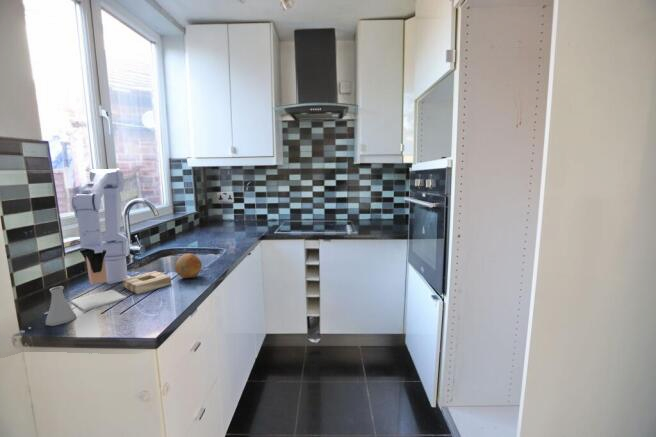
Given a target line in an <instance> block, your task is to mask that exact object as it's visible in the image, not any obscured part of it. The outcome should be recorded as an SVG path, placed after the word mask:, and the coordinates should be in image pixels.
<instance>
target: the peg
mask: <svg viewBox="0 0 656 437" xmlns="http://www.w3.org/2000/svg"><path fill="white" fill-rule="evenodd" d="M86 260H87V263H86V266H87V268H86V269H87V273H88V274H87V275H88V280H89V283H90V284H91V285H92V286H94V285H98V284H103V283H107V276H106V268H105V260H104V259H103V264H102V270H101V272H96V273H93V271H92V268H91V265H90V262H89V260H88V258H87V257H86ZM86 260H85V261H86Z"/></svg>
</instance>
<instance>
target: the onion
mask: <svg viewBox="0 0 656 437" xmlns="http://www.w3.org/2000/svg"><path fill="white" fill-rule="evenodd" d="M174 266H175V267H174V268H175V272H176V274H177V275H178V276H179V277H181V278H182V279H193V278H196V277H197V276H198V275H199V274H200V272H201V270H202V262H201V260H200V258H199V257H198V255H196V254H194V253H183V254H181V255H180V257H179V258H178V259H177V260H176V263H175V265H174Z"/></svg>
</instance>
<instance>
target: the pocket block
mask: <svg viewBox="0 0 656 437" xmlns="http://www.w3.org/2000/svg"><path fill="white" fill-rule="evenodd" d="M171 279H172V278H171V276H169V275H167V274H165V273H163V272H159V271H157V270H154V271H151V272H146V273H143V274H138V275H135V276H130V278H126V279H122V280H123V281H122V287H123V288H124V289H127V290H128V291H130V292H133V293H134V294H137V295H140V294H143V293H146V292H150V291H152V290H153V291H154V290H157V289H159V288H162V287H167V286H169V285H172V280H171Z"/></svg>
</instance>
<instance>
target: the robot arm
mask: <svg viewBox="0 0 656 437" xmlns="http://www.w3.org/2000/svg"><path fill="white" fill-rule="evenodd" d="M89 180H90V182H87V184H85V185H84V186H83V188H82V190H81V191H80V192H79V193H78V194H75V195H73V196H72V197H71V207H72V211H73V213H74V216H75V218H76V219H77V225H78V226H77V227H78V233H79V239H80V240H79V241H80V245H79V247H80V250H79V251H78V252H80V254H81V255H82V256H83V258H84V260H85V262H86V264H87V260H86V257H87V258H88V260H89V262H90V265H91V268H92V271H93V273H96V272H101V270H102V264H103V259H104V260H105V268H106V276H107V282H106V283H107V284H109V285H113V284H117V283H120V282H123V280H122V279H126V278H130V277H131V276H130V275H128V268H127V267H128V266H127V258H126V257H128V256H129V255H130V251H131V250H130V248H131V247H130V243H129V237H127V236H126V235H124V234H122V233H121V231H120V230H121V229H120V225H121V224H120V202H119V200H120V199H119V198H120V193H121V192H123V191H124V184H125V183H124V174H123V171H122V170H121V169H120V168H108V169H106V168H105V169H104V168H97V169H95V168H92V169H91V170H90V171H89ZM102 198H104V200H103V201H104V202H103V203H104V228H105V229H104V230H105V232H104V233H105V234H104V235H102V228H101V221H100V212H99V211H100V210H101V205H102Z"/></svg>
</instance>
